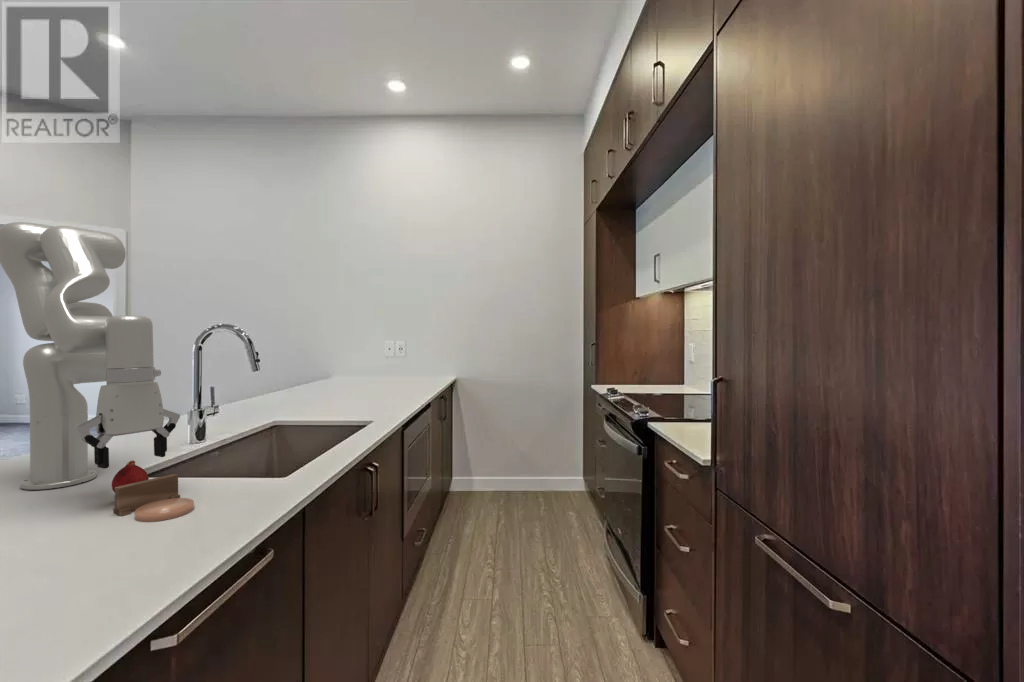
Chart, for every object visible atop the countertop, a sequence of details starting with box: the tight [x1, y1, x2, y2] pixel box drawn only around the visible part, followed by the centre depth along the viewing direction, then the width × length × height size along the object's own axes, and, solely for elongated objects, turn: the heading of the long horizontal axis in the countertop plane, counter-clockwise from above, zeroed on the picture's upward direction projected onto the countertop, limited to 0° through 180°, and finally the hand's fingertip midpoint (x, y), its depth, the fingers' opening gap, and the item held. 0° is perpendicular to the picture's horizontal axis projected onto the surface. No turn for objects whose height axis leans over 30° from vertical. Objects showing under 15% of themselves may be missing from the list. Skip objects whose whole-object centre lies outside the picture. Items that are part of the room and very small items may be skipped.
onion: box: [111, 460, 150, 494], centre depth 96 cm, size 6×6×8 cm
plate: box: [134, 497, 195, 523], centre depth 90 cm, size 9×9×1 cm
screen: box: [112, 473, 181, 517], centre depth 93 cm, size 3×10×5 cm, turn 151°
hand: (132, 461), depth 96 cm, fingers open, 9 cm apart
